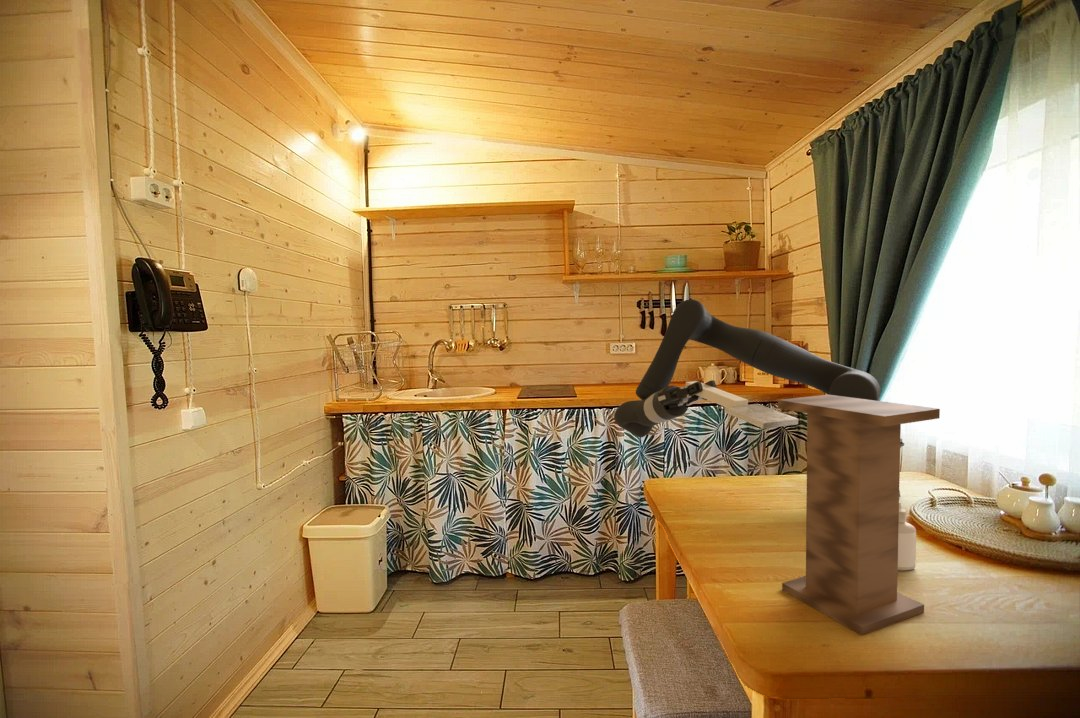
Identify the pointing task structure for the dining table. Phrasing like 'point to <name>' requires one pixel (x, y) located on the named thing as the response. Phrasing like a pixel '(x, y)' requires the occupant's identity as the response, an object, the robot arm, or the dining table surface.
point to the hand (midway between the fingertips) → (707, 385)
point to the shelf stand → (854, 509)
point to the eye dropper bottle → (906, 543)
